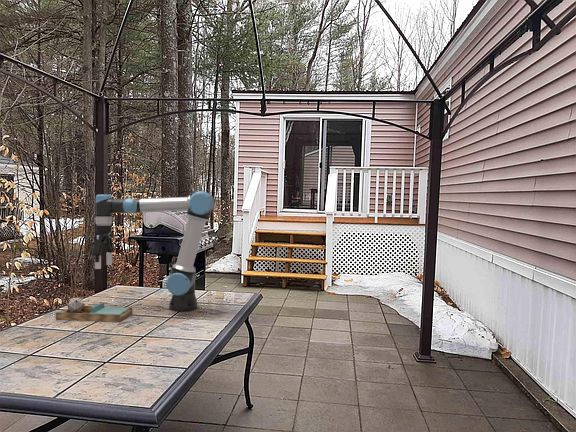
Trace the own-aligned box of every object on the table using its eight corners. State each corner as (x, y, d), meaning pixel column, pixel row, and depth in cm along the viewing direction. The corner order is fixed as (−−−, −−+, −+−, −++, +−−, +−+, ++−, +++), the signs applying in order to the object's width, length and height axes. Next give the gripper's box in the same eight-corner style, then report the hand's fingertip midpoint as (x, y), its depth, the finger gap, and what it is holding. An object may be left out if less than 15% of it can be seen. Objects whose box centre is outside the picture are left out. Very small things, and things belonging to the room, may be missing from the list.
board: (132, 314, 210) (132, 307, 210) (119, 322, 195) (120, 315, 195) (72, 311, 211) (72, 305, 211) (55, 319, 196) (55, 312, 196)
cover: (129, 309, 209) (129, 303, 209) (118, 316, 196) (119, 309, 196) (101, 308, 209) (102, 301, 209) (89, 314, 197) (89, 307, 196)
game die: (87, 310, 203) (76, 293, 201) (70, 320, 201) (59, 303, 199) (90, 306, 211) (79, 290, 210) (74, 316, 209) (63, 299, 208)
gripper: (106, 224, 222) (106, 263, 223) (84, 226, 197) (84, 270, 198) (120, 224, 223) (120, 263, 223) (100, 226, 198) (100, 270, 198)
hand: (103, 266), depth 210 cm, fingers open, 13 cm apart
